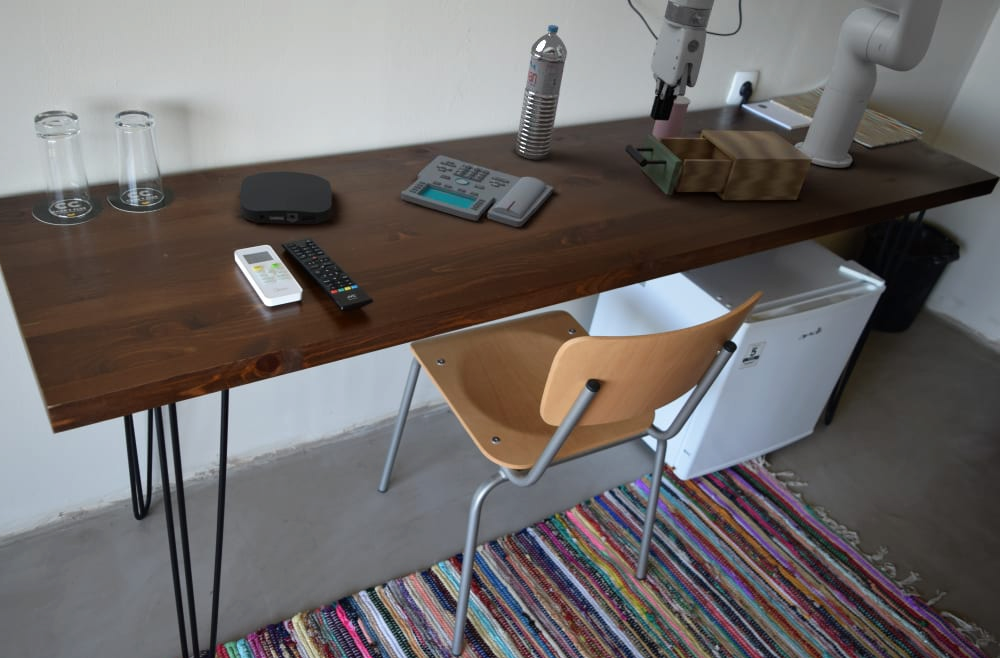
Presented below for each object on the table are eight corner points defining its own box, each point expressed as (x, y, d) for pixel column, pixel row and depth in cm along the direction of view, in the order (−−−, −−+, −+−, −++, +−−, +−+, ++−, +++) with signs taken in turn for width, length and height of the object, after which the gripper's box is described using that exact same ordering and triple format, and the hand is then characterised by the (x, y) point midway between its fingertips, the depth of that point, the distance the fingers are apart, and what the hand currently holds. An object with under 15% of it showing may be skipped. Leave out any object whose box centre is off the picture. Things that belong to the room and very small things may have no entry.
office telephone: (555, 179, 149) (521, 221, 134) (552, 192, 151) (519, 235, 135) (440, 148, 155) (395, 184, 139) (439, 160, 156) (394, 198, 141)
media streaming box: (329, 187, 142) (329, 171, 140) (332, 226, 130) (333, 209, 128) (243, 184, 139) (242, 168, 137) (239, 224, 127) (238, 207, 125)
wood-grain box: (723, 200, 156) (737, 158, 151) (690, 170, 167) (702, 129, 162) (796, 199, 160) (812, 159, 155) (759, 170, 171) (773, 131, 166)
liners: (657, 147, 176) (671, 91, 169) (680, 156, 173) (696, 100, 165) (641, 152, 172) (655, 96, 165) (664, 162, 169) (679, 105, 162)
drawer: (639, 195, 152) (648, 161, 148) (613, 166, 161) (621, 134, 157) (738, 194, 157) (749, 161, 153) (706, 167, 167) (716, 135, 163)
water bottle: (546, 163, 161) (569, 33, 147) (512, 157, 162) (533, 27, 147) (550, 151, 167) (573, 25, 152) (517, 145, 168) (537, 19, 153)
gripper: (727, 28, 135) (695, 134, 145) (686, 5, 146) (660, 105, 157) (687, 25, 133) (658, 133, 143) (649, 2, 144) (625, 104, 155)
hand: (659, 118), depth 150 cm, fingers closed
